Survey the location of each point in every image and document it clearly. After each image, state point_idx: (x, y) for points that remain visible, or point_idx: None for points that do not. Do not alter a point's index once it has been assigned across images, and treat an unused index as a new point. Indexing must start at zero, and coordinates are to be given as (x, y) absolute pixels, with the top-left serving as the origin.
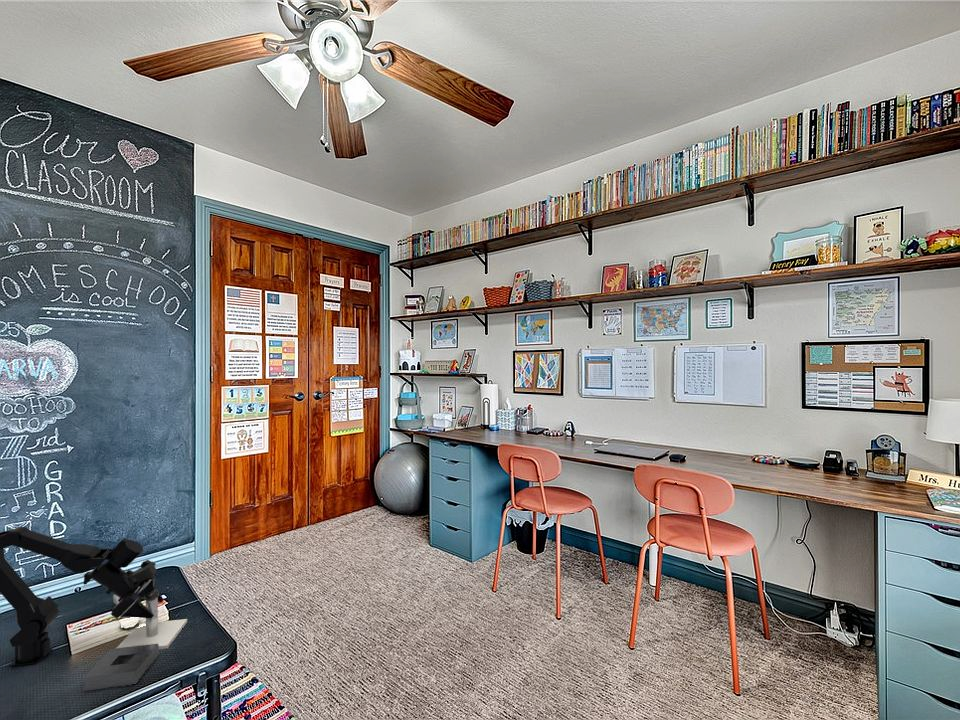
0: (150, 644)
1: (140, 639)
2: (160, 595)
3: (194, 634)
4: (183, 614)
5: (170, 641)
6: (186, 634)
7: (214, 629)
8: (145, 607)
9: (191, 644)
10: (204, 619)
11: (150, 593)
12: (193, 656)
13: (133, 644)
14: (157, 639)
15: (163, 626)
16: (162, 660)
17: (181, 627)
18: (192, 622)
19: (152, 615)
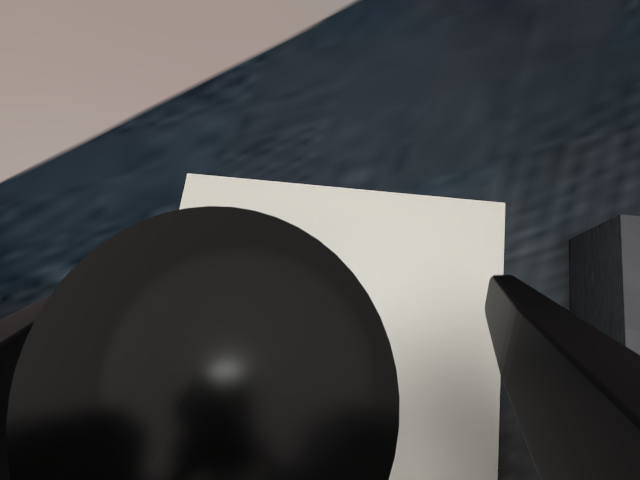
0: (623, 272)
1: None
2: (16, 319)
3: (369, 101)
4: (78, 234)
5: (454, 198)
6: (353, 146)
7: (348, 12)
8: (625, 385)
9: (483, 87)
10: (205, 92)
11: (283, 401)
12: (620, 43)
13: (429, 452)
14: (407, 291)
15: None
16: (631, 198)
17: (282, 184)
18: (213, 151)
19: (517, 284)
